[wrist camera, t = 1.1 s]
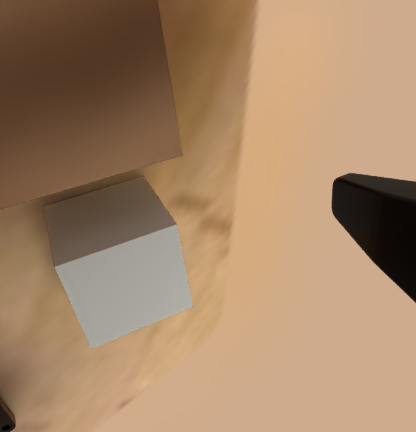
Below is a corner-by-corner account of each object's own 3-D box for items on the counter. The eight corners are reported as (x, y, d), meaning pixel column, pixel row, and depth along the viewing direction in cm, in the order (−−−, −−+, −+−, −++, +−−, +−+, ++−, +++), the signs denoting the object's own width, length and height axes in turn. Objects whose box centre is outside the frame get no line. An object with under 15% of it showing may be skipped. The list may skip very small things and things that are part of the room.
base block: (152, 124, 19) (182, 155, 16) (-1, 166, 17) (-1, 209, 14) (110, -83, 14) (141, -97, 11) (-105, -59, 12) (-140, -68, 9)
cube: (160, 250, 23) (192, 306, 19) (74, 281, 22) (91, 349, 18) (142, 175, 20) (176, 224, 16) (43, 205, 19) (54, 266, 15)
